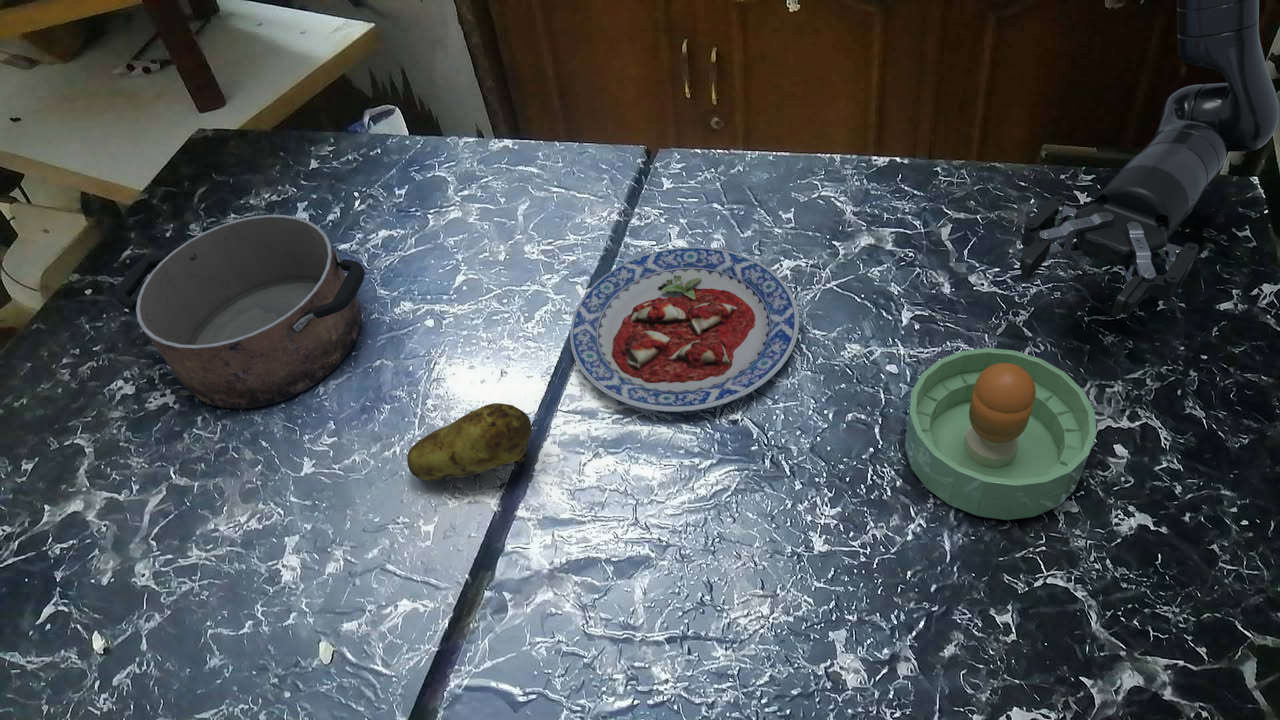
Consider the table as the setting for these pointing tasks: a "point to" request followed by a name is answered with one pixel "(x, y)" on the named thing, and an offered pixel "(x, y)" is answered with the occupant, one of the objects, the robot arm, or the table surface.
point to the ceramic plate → (684, 329)
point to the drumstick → (999, 414)
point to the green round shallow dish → (1045, 446)
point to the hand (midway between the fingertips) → (1070, 289)
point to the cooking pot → (249, 309)
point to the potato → (472, 444)
